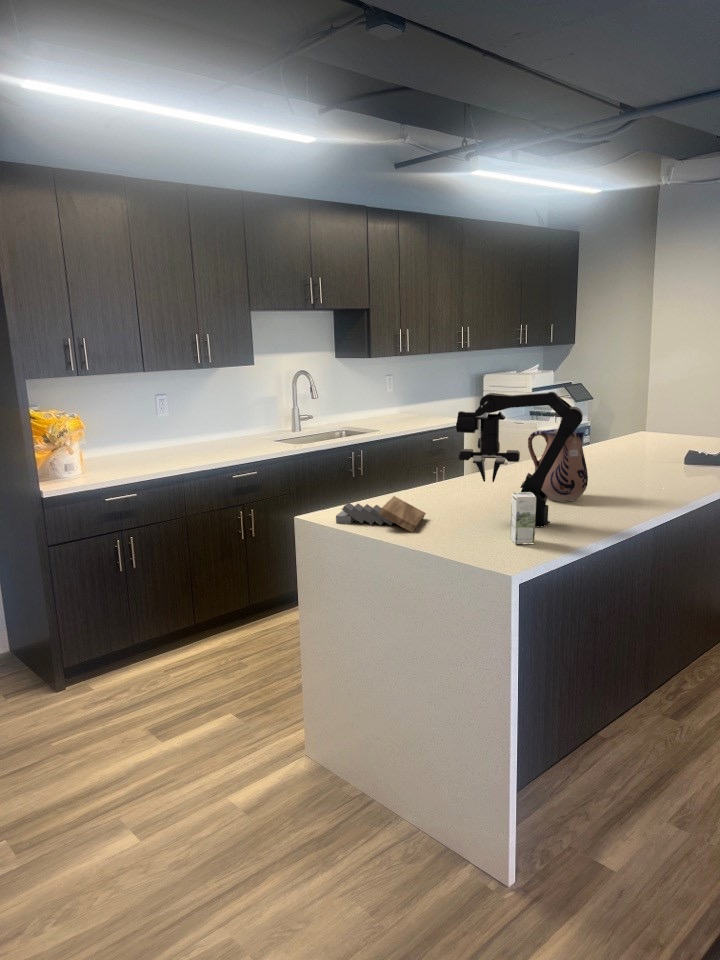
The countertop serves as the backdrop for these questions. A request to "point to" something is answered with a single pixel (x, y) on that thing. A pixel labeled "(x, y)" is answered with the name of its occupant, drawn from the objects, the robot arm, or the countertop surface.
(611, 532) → the countertop surface
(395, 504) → the board
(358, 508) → the domino
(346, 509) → the domino
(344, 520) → the block
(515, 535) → the syrup box
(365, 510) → the domino
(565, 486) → the ceramic pitcher
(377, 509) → the domino
